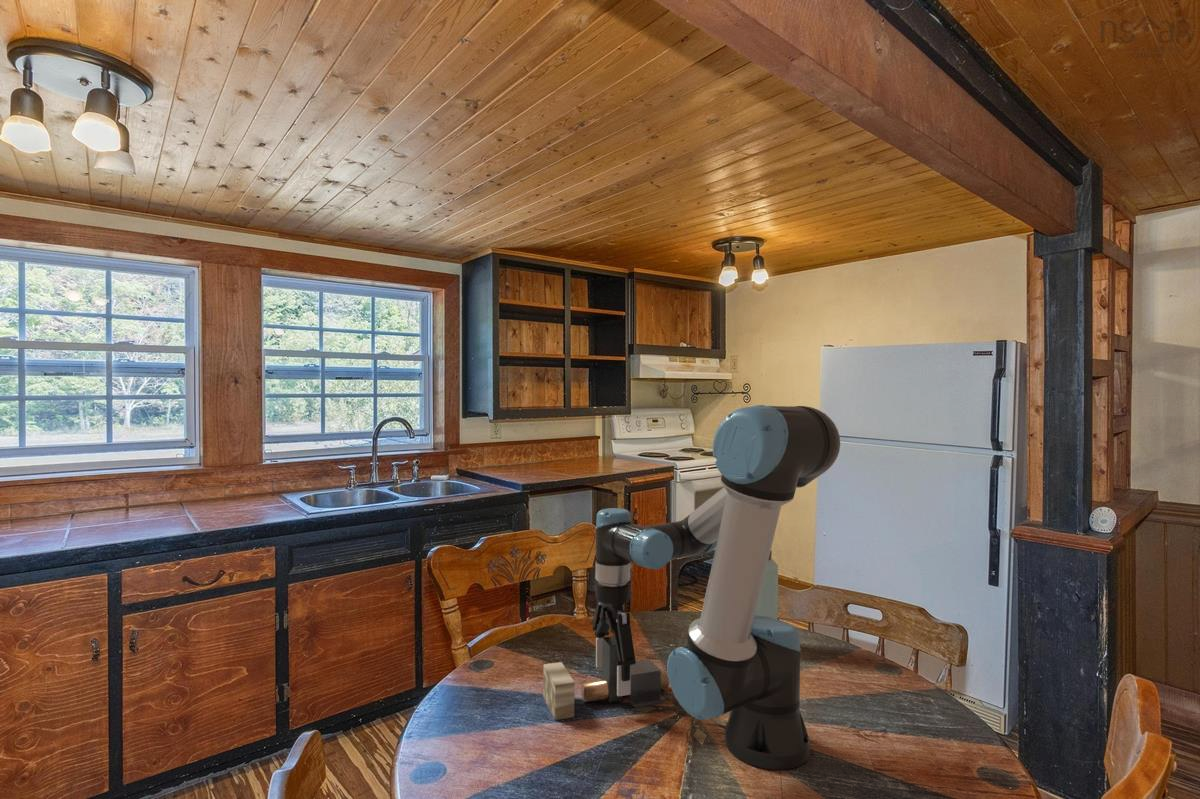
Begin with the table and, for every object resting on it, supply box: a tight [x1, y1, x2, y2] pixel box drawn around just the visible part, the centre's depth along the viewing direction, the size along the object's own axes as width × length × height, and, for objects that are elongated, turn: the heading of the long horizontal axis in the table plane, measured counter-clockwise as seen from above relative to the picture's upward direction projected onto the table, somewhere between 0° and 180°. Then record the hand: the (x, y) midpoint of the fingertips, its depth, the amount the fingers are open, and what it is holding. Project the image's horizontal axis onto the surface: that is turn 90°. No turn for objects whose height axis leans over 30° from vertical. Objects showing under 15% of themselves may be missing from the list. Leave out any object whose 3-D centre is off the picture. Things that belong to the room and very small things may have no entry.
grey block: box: [629, 658, 666, 709], centre depth 131 cm, size 11×7×6 cm, turn 19°
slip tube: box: [580, 635, 670, 704], centre depth 130 cm, size 5×19×12 cm, turn 109°
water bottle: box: [755, 550, 779, 620], centre depth 157 cm, size 10×10×25 cm
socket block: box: [542, 661, 576, 721], centre depth 125 cm, size 10×4×7 cm, turn 19°
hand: (612, 680), depth 129 cm, fingers open, 13 cm apart
